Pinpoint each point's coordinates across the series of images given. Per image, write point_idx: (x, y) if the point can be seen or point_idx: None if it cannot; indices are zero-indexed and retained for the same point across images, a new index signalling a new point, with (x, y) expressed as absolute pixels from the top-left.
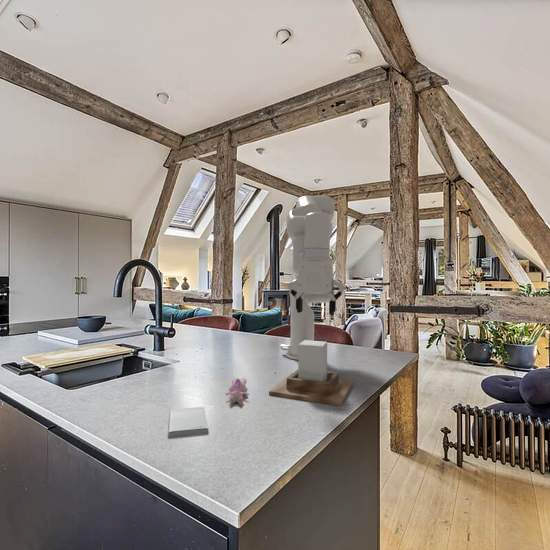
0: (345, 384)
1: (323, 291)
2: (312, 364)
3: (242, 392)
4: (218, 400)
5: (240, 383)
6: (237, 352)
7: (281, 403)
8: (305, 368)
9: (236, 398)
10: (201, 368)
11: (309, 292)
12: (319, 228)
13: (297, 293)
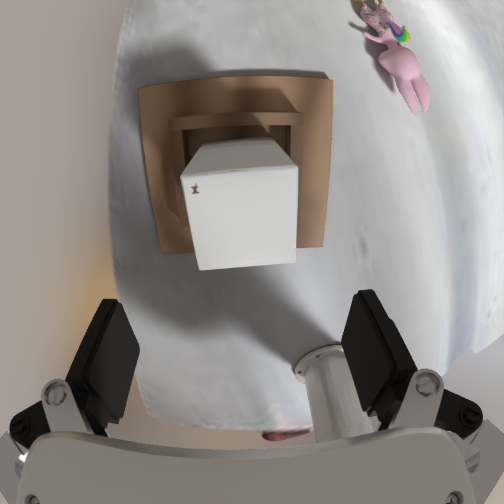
0: (166, 218)
1: (81, 458)
2: (229, 151)
3: (379, 38)
4: (408, 24)
5: (395, 37)
6: (442, 328)
7: (278, 37)
8: (254, 145)
9: (375, 11)
10: (490, 210)
11: (294, 456)
12: None
13: (432, 417)
